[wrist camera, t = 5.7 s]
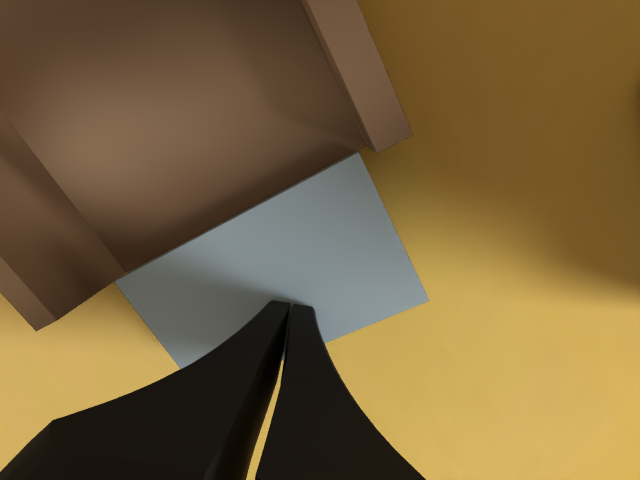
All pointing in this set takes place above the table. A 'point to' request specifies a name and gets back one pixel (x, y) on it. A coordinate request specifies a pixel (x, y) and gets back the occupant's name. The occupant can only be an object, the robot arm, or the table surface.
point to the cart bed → (166, 126)
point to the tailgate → (281, 266)
